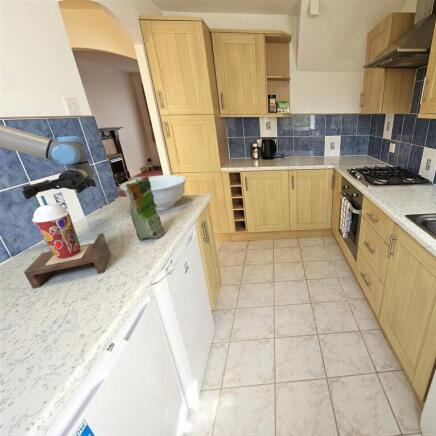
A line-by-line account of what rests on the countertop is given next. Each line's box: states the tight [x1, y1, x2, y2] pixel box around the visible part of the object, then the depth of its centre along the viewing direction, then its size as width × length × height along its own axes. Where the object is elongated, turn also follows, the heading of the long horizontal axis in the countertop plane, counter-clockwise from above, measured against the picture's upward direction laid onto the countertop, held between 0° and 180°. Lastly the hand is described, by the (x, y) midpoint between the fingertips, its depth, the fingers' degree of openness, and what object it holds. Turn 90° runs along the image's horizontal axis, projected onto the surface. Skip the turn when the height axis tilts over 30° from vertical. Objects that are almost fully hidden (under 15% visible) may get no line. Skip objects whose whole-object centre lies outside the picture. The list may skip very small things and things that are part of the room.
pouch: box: [126, 176, 165, 241], centre depth 98 cm, size 11×12×25 cm
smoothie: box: [31, 195, 81, 259], centre depth 75 cm, size 8×8×20 cm
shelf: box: [23, 233, 112, 289], centre depth 80 cm, size 18×12×9 cm, turn 115°
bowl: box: [119, 174, 187, 212], centre depth 135 cm, size 32×32×15 cm
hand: (52, 192), depth 81 cm, fingers open, 13 cm apart
